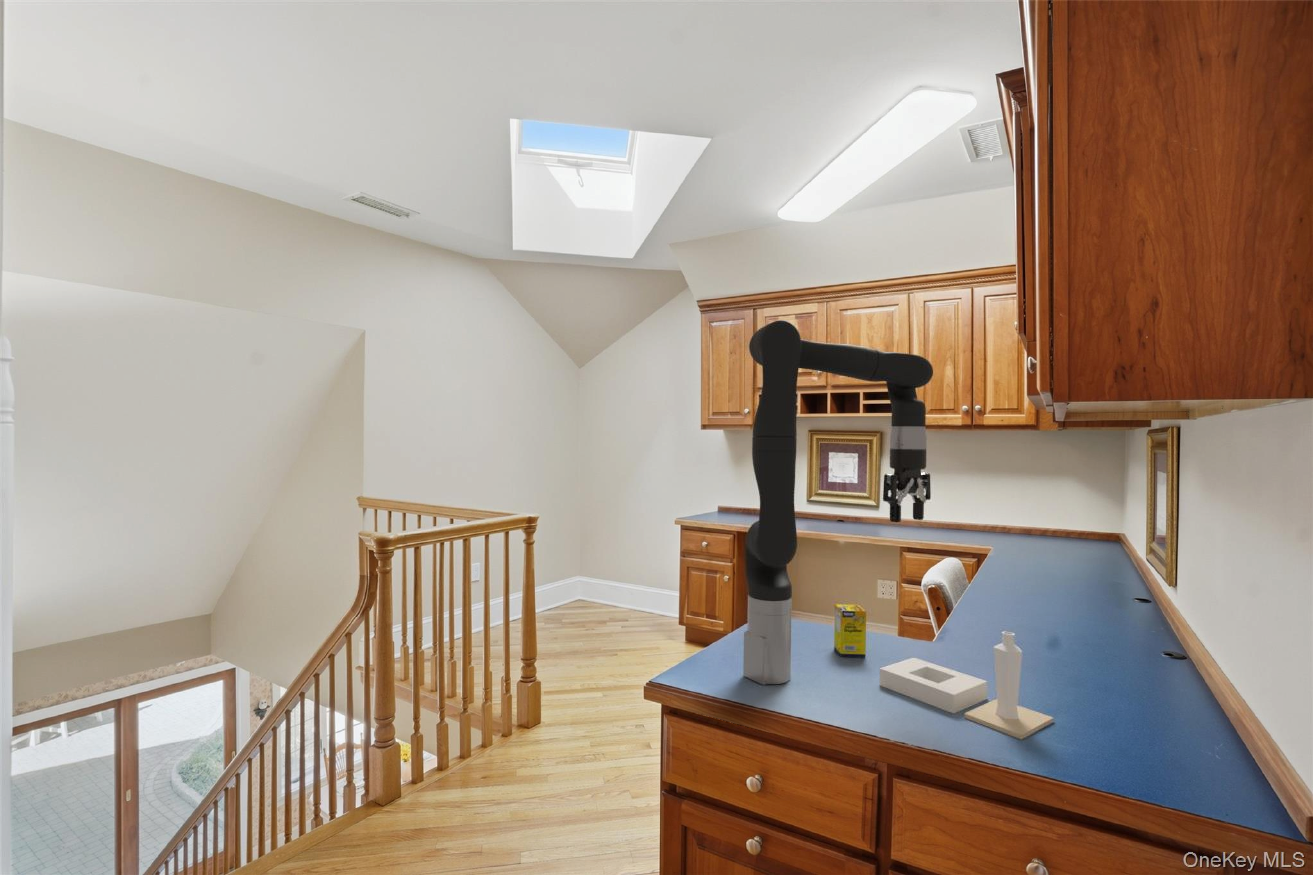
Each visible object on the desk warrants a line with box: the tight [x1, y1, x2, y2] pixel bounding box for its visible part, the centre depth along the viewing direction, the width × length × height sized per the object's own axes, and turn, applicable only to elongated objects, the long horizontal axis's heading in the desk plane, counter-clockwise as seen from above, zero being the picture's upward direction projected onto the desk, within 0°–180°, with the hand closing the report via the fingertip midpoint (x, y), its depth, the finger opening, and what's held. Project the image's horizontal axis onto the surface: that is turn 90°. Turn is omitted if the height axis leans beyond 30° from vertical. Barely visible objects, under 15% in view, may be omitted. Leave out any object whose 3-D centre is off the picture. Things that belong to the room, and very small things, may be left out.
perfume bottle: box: [993, 631, 1023, 719], centre depth 114 cm, size 5×4×15 cm
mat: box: [963, 698, 1054, 740], centre depth 115 cm, size 12×10×1 cm
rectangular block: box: [879, 657, 988, 714], centre depth 127 cm, size 12×16×4 cm
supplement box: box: [833, 603, 867, 658], centre depth 149 cm, size 6×6×11 cm
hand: (907, 520), depth 138 cm, fingers open, 8 cm apart
